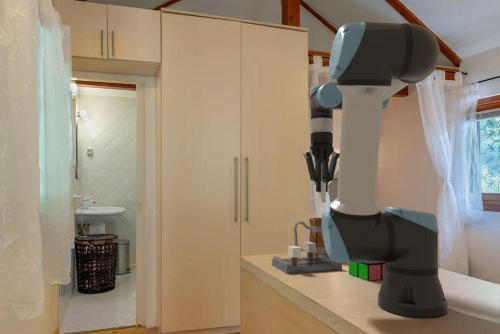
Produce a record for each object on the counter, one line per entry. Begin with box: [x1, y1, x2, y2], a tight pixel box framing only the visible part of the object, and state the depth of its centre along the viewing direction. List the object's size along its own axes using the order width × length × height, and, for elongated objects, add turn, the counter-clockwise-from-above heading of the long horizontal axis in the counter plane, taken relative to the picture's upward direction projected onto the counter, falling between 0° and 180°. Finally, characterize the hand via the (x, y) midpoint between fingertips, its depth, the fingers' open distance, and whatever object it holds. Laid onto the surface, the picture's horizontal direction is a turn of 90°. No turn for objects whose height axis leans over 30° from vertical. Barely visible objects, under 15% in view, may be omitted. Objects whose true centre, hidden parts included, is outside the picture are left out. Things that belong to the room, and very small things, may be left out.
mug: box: [293, 217, 328, 257], centre depth 157 cm, size 20×14×15 cm
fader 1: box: [287, 245, 302, 264], centre depth 132 cm, size 4×3×5 cm, turn 17°
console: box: [271, 254, 343, 275], centre depth 137 cm, size 14×20×3 cm
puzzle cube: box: [348, 262, 385, 282], centre depth 125 cm, size 10×10×10 cm
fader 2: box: [302, 241, 316, 259], centre depth 141 cm, size 4×3×5 cm, turn 17°
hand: (321, 202), depth 133 cm, fingers closed
